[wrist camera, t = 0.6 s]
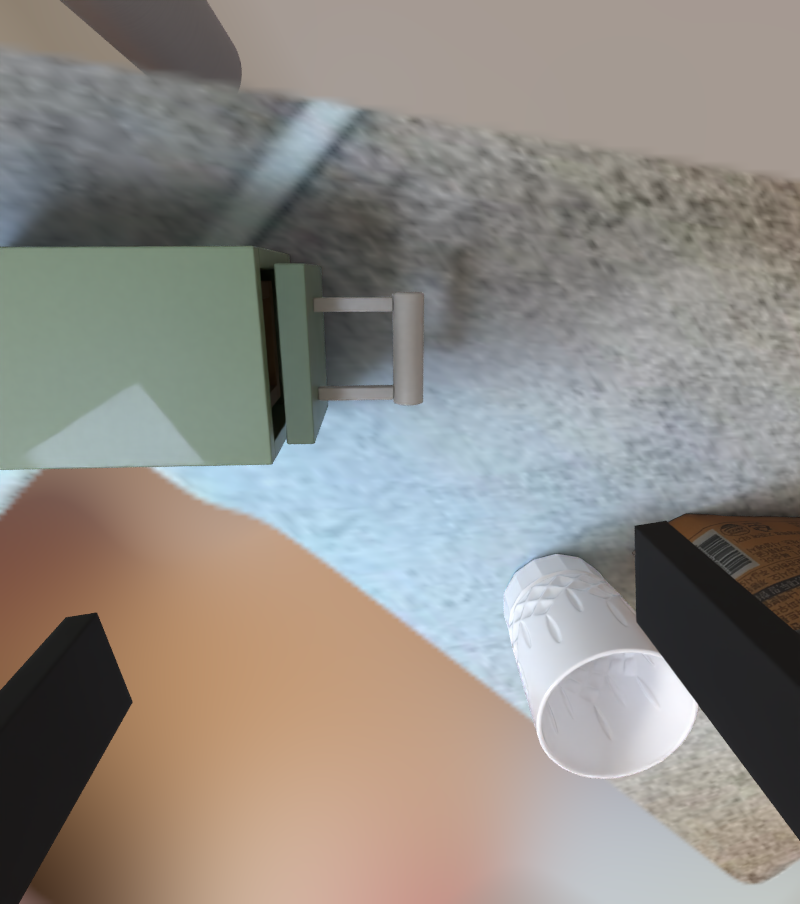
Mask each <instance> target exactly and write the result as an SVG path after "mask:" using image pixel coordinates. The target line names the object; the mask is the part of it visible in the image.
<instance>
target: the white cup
mask: <svg viewBox="0 0 800 904" xmlns="http://www.w3.org/2000/svg"><path fill="white" fill-rule="evenodd" d="M503 613H504V617H505V620H506V623H507V626H508V629H509V633H510V640H511V645H512V649H513V652H514V655H515V659H516V664H517V668H518V671H519V675H520V678H521V681H522V685H523V688H524V691H525V695H526V698H527V701H528V705H529V708H530V711H531V715H532V718H533V722H534V725H535V729H536V732H537V736H538V739H539V742H540V744H541V746H542V748H543V750H544V751H545V753H546V754H547V755H548V756H549V758H550V759H551V760H552V761H554V762H555V763H556V764H557V765H559V766H560V767H562V768H563V769H565V770H567V771H569V772H571V773H574V774H577V775H580V776H584V777H589V778H598V779H610V778H619V777H625V776H629V775H633V774H636V773H639V772H642V771H645V770H647V769H649V768H651V767H653V766H655V765H657V764H658V763H660V762H662V761H663V760H665V759H666V758H667V757H669V756H670V755H671V754H672V753H674V752H675V751H676V750H677V749H678V748H679V747H680V746H681V744H682V743H683V742H684V741H685V739H686V738H687V737H688V735H689V734H690V732H691V730H692V728H693V726H694V724H695V721H696V718H697V714H698V707H699V705H698V704H697V702H696V701H695V700H694V698H693V697H692V696H691V694H690V693H689V692H688V690H687V689H686V688H685V686H684V685H683V684H682V682H681V681H680V680H679V678H678V677H677V676H676V674H675V673H674V672H673V670H672V669H671V668H670V666H669V665H668V664H667V662H666V661H665V660H664V658H663V657H662V656H661V654H660V653H659V652H658V650H657V649H656V648H655V646H654V645H653V644H652V642H651V641H650V640H649V638H648V637H647V636H646V634H645V633H644V632H643V630H642V629H641V628H640V626H639V625H638V624H637V622H636V611H635V610H634V609H633V608H632V607H631V606H630V605H629V604H628V603H627V602H626V601H625V600H624V598H623V597H622V596H621V595H620V594H619V593H618V592H617V591H616V590H615V589H614V588H613V587H612V586H611V585H610V584H609V583H608V582H607V581H606V580H605V579H604V578H603V576H602V575H601V574H600V573H599V572H598V571H597V570H596V569H595V568H594V567H592V566H591V565H589V564H588V563H587V562H585V561H584V560H582V559H581V558H579V557H574V556H568V555H561V554H554V555H550V556H546V557H542V558H538V559H534V560H532V561H531V562H529V563H528V564H527V565H525V566H524V567H523V568H521V569H520V570H519V571H517V572H516V573H515V574H514V576H513V577H512V579H511V581H510V583H509V584H508V586H507V588H506V590H505V591H504V607H503Z"/></svg>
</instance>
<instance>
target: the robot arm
mask: <svg viewBox="0 0 800 904" xmlns="http://www.w3.org/2000/svg"><path fill="white" fill-rule="evenodd" d="M635 578H636V622H637V624H638V625H639V626H640V628H641V629H642V630H643V632H644V633H645V634H646V636H647V637H648V638H649V640H650V641H651V642H652V644H653V645H654V646H655V648H656V649H657V650H658V652H659V653H660V654H661V656H662V657H663V658H664V660H665V661H666V662H667V664H668V665H669V666H670V668H671V669H672V670H673V672H674V673H675V674H676V676H677V677H678V678H679V680H680V681H681V682H682V684H683V685H684V686H685V688H686V689H687V690H688V692H689V693H690V694H691V696H692V697H693V698H694V700H695V701H696V702H697V704H698V705H699V707H700V708H701V709H702V711H703V712H704V713H705V715H706V716H707V717H708V719H709V720H710V721H711V723H712V724H713V725H714V727H715V728H716V729H717V731H718V732H719V733H720V735H721V736H722V737H723V739H724V740H725V741H726V743H727V744H728V745H729V747H730V748H731V749H732V751H733V752H734V753H735V755H736V756H737V757H738V759H739V760H740V761H741V763H742V764H743V765H744V767H745V768H746V769H747V771H748V772H749V773H750V775H751V776H752V777H753V779H754V780H755V781H756V783H757V784H758V785H759V787H760V788H761V789H762V791H763V792H764V793H765V795H766V796H767V797H768V799H769V800H770V801H771V803H772V804H773V805H774V807H775V808H776V810H777V811H778V812H779V814H780V815H781V816H782V818H783V819H784V820H785V822H786V823H787V824H788V826H789V827H790V828H791V830H792V831H793V832H794V834H795V835H796V836H797V838H798V839H799V840H800V629H798V630H794V629H792V628H791V627H790V626H789V625H788V624H787V623H785V622H784V621H783V620H782V619H781V618H780V617H778V616H777V615H776V614H775V613H774V612H773V611H771V610H770V609H769V608H768V607H767V606H765V605H764V604H763V603H762V602H761V601H760V600H758V599H757V598H756V597H755V596H754V595H753V594H751V593H750V592H749V591H748V590H747V589H746V588H744V587H743V586H742V585H741V584H740V583H739V582H737V581H736V580H735V579H734V578H733V577H731V576H730V575H729V574H728V573H727V572H726V571H724V570H723V569H722V568H721V567H720V566H719V565H717V564H716V563H715V562H714V561H713V560H712V559H710V558H709V557H708V556H707V555H706V554H704V553H703V552H702V551H701V550H700V549H699V548H697V547H696V546H695V545H694V544H693V543H692V542H690V541H689V540H688V539H687V538H686V537H685V536H683V535H682V534H681V533H680V532H679V531H678V530H676V529H675V528H674V527H673V526H672V525H670V524H669V523H668V522H667V521H663V522H656V523H650V524H644V525H638V526H635ZM131 704H132V699H131V697H130V694H129V692H128V689H127V687H126V684H125V682H124V679H123V677H122V674H121V672H120V669H119V667H118V664H117V662H116V659H115V657H114V654H113V652H112V649H111V647H110V644H109V642H108V639H107V637H106V634H105V632H104V629H103V627H102V624H101V622H100V619H99V617H98V614H97V613H91V614H85V615H78V616H72V617H66V618H65V619H64V620H63V621H62V622H61V623H60V624H59V626H58V627H57V628H56V629H55V630H54V631H53V632H52V633H51V635H50V636H49V637H48V638H47V639H46V640H45V641H44V642H43V643H42V645H41V646H40V647H39V648H38V649H37V650H36V651H35V652H34V654H33V655H32V656H31V657H30V658H29V659H28V660H27V661H26V662H25V663H24V665H23V666H22V667H21V668H20V669H19V670H18V671H17V672H16V673H15V675H14V676H13V677H12V678H11V679H10V680H9V681H8V682H7V684H6V685H5V686H4V687H3V688H2V689H1V690H0V904H19V902H20V901H21V899H22V897H23V895H24V893H25V892H26V890H27V888H28V886H29V885H30V883H31V881H32V879H33V878H34V876H35V874H36V872H37V871H38V869H39V867H40V865H41V863H42V862H43V860H44V858H45V856H46V855H47V853H48V851H49V849H50V847H51V846H52V844H53V842H54V840H55V839H56V837H57V835H58V833H59V832H60V830H61V828H62V826H63V824H64V823H65V821H66V819H67V817H68V816H69V814H70V812H71V810H72V808H73V807H74V805H75V803H76V802H77V800H78V798H79V796H80V794H81V792H82V791H83V789H84V787H85V786H86V784H87V782H88V780H89V779H90V777H91V775H92V773H93V771H94V769H95V768H96V766H97V764H98V763H99V761H100V759H101V757H102V756H103V754H104V752H105V750H106V748H107V747H108V745H109V743H110V741H111V740H112V738H113V736H114V734H115V733H116V731H117V729H118V727H119V725H120V724H121V722H122V720H123V718H124V716H125V715H126V713H127V711H128V709H129V707H130V706H131Z"/></svg>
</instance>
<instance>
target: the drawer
mask: <svg viewBox="0 0 800 904" xmlns="http://www.w3.org/2000/svg"><path fill="white" fill-rule="evenodd" d="M274 275H275V288H276V302H277V315H278V328H279V341H280V355H281V368H282V381H283V394H284V408H285V421H286V434H287V443H288V444H314V443H315V441H316V438H317V435H318V432H319V430H320V427H321V424H322V421H323V419H324V416H325V413H326V410H327V408H328V400H392V399H393V398H394V403H396V404H399V405H417V404H420V403H422V402H423V347H424V293H422V292H394V293H393V295H392V297H393V298H392V297H323V295H322V275H321V266H318V265H311V264H305V263H275V264H274ZM261 289H262V301H263V313H264V325H265V337H266V349H267V361H268V373H269V385H270V397H271V408H272V407H273V405H274V404H275V403H276V402H277V400H278V399H279V398H280V383H279V370H278V357H277V344H276V332H275V319H274V306H273V293H272V282H271V281H261ZM384 311H393V385H353V386H327V376H326V356H325V336H324V316H323V312H384Z"/></svg>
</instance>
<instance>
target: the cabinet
mask: <svg viewBox="0 0 800 904" xmlns="http://www.w3.org/2000/svg"><path fill="white" fill-rule="evenodd" d="M275 263H290V257H289V254H285V253H281V252H277V251H273V250H268V249H264V248H260V247H255V246H83V247H0V470H15V469H64V468H65V469H66V468H110V467H111V468H113V467H114V468H115V467H116V468H117V467H167V466H218V465H269V464H273V462H274V460H275V458H276V457H277V455H278V453H279V451H280V449H281V447H282V446H283V444H284V442H285V440H286V438H287V434H286V421H285V408H284V394H283V381H282V368H281V355H280V341H279V328H278V315H277V302H276V288H275V275H274V264H275ZM261 281H271V282H272V293H273V306H274V319H275V332H276V344H277V357H278V370H279V383H280V398H279V399H278V400H277V402H276V403H275V404H274V405H273V407H272V408H271V397H270V385H269V373H268V361H267V349H266V337H265V325H264V313H263V301H262V289H261Z"/></svg>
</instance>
